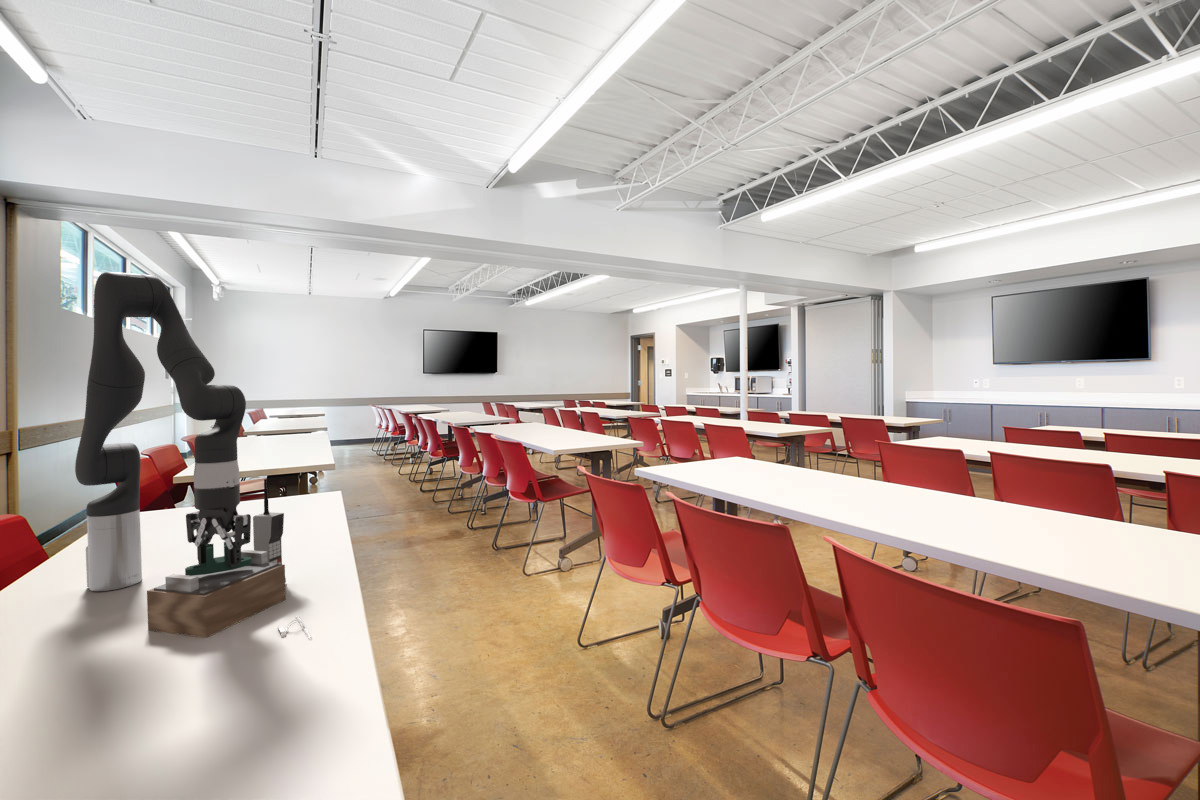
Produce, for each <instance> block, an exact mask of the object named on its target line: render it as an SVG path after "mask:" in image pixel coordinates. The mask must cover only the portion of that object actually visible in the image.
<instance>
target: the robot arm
mask: <svg viewBox="0 0 1200 800" xmlns="http://www.w3.org/2000/svg"><path fill="white" fill-rule="evenodd" d="M94 285H95V286H94V292H93V340H92V342H93V343H92V349H91V350H92V352H91V360H90V364H89V365H90V366H89V371H88V378H87V384H86V396H85V397H86V398H85V400H86V401H85V411H84V420H83V425H82V431H81V435H80V439H79V444H78V447H77V453H76V458H75V464H74V465H75V466H74V470H75V471H74V472H75V478H76V480H77V481H78V483H79V484H80V485H82V486H100V485H111V484H117V483H118V484H117V486H116V487H115V489H113V490H112V491H111V492H108V493H107V494H105V495H102V496H101V497H98V498H95V499H93V500H91V501H90V502H88V503H87V504H86V510H85V511H86V530H87V546H86V547H85V562H86V563H85V564H86V565H85V566H86V587H87V588H89V589H88V590H89V591H92V592H107V591H114V590H119V589H120V590H121V589H123V588H127V587H130V586H133V585H137V584H138V583H140V582H141V581H142V580H143V572H142V570H143V568H142V566H143V565H142V561H143V560H142V541H141V539H142V537H141V511H140V501H141V500H140V499H141V498H140V497H141V487H140V486H141V485H140V484H141V454H140V449H139V448H138V446H137V445H136V444H134V443H131V442H122V443H121V442H120V443H108V444H105V441H106V440H107V438H108V436H109V435H110V433H111V432H112V431H113V429H114V428H115V427H117V425H118V424H120V423H121V422H122V421H123V420H124V419H125V418H126V417H127V416H128V415H130V414H131V413H132V412H133V411H134V410H135V409H136V407H137V406H139V404H140V402H141V400H142V398H143V394H144V393H143V392H144V387H145V379H146V371H145V369H144V367H143V364H142V363H141V362H140V360H139V359H138V357H137V355H135V353H134V352H133V351H132V349H131V348H130V347H129V345H128V343H127V342H126V339H125V338H124V333H123V332H124V331H123V323H124V319H125V318H151V319H154V320H155V322H156V323H157V324H158V325H159V326H160V333H159V337H158V341H157V344H156V354H157V358H158V360H159V362H160V364H161V365H162V367H163V368H164V369H165V372H167V374H168V375H169V376H170V378H171V379H172V381H173V382H174V384H175V389H176V392H177V395H178V400H179V403H180V407H181V409H182V411H183V412H184V413H185V415H186V416H188V417H189V418H190V419H193V420H196V421H215V422H214V424H213V427H212V428H211V429H210V430H208V431H205V432H201V433H199V434H197V435H196V436H195V438H194V444H193V445H194V448H193V449H194V470H193V492H194V493H193V495H194V498H193V499H194V500H193V502H194V508H195V509H196V510H197V511H194V512H189V513H186V515H185V522H186V523H185V524H186V535H187V536H186V537H187V542H188V543H189V544H190V543H193V544H194V546H196V548H197V549H196V551H197V553H196V555H197V556H196V557H197V560H198V564H202V563H206V545H207V544H211V541H212V539H213V537H214V536H215V535H218V536H219V537H220V539H221V540H223V541H224V542H226V544H227V546H228V548H229V549H227V559H228V567H234V566H237V565H239V564H240V562H241V551H242V546H243V545H248V544H250V542H251V526H252V525H251V523H252V516H251V514H249V513H246V514H239V513H238V509H237V507H238V505H239V504H240V503H241V487H240V483H241V482H240V468H239V461H238V438H239V434H240V431H241V427H242V424H243V420H244V417H245V414H246V410H247V409H246V408H247V401H246V398H245V397H246V396H245V395H244V393H243V391H242V390H241V389H240V388H239V387H238V386H236V385H230V384H219V385H218V384H210V383H211V382H212V381H213V380H214V378H215V376H216V373H215V368H214V367H213V365H212V364H211V363H210V361H209V360H208V358H207V357H206V356H205V355H204V353H203V352H202V350H200V348H199V347H198V345H197V344H196V342H195V341H194V339H193V338H192V336H191V334H190V332H189V330H188V327H187V326H186V324H185V321H184V319H183V317H182V315H181V314H180V311H179V309H178V308H179V307H177V304H176V303H175V300H174V298H173V296H172V294H171V292H170V290H169V289H168V287H167V285H165V283H164V282H163V281H162V280H161V278H159V277H157V276H155V275H151V274H144V273H132V272H131V273H129V272H122V271H105V272H102V273H101V274H100V275H99V276H98V277H97V279H96V281H95V284H94ZM195 530H196V532H195ZM230 531H231V532H230ZM195 533H196V535H195ZM232 538H233V539H232Z"/></svg>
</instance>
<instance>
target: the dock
mask: <svg viewBox="0 0 1200 800" xmlns="http://www.w3.org/2000/svg"><path fill="white" fill-rule="evenodd" d="M241 557H251V563H252V564H251V565H248V566H245V567H241V568H237V569H234V570H228V571H223V572H217V573H211V574H204V575H193V576H189V575H185V574H175V573H173V574H169V575H167V576H165V583H164V584H162V585H158V586H155V587H154V588H151V589H148V590H146V603H147V604H146V605H147V607H146V608H147V609H146V610H147V631H150V632H159V633H167V634H175V635H182V636H183V635H184V636H192V637H199V638H209V637H211V636H213V635H216V634H217V633H219V632H221V631H223V630H225V629H228V628H230V627H231V626H234V625H236V624H238V623H240V622H242V621H244V620H246V619H248V618H250V617H252V616H254V615H257V614H259V613H261V612H263V611H265V610H266V609H268V608H271V607H272V606H274V605H277V604H279V603H281V602H283V601H285V600H287V598H286V583H285V578H286V567H285V566H286V565H285V564H283V563H282V564H279V563H269V562H268V561H267V551H254V549H253V550H252V549H251V550H250V549H243V550H241Z"/></svg>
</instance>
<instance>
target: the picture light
mask: <svg viewBox="0 0 1200 800" xmlns="http://www.w3.org/2000/svg"><path fill="white" fill-rule="evenodd" d="M295 623H298V624H299V626H300V628H301V629H302V631H303V632H304V635H305V636H306V638H307V640H309V641H312V640H313V637H312V636H311V634H310V633H309V630H308V629H307V627H306V626H305V624H304V623H303V620H302V619H301V618H300V615H295V619H294V620H292V621H290V623H288V624H287V627H286V628H284V626H283V625H279V626H278V627H277V631H279V632H280V635H281V638H284V637H287V635H286V634H287V633H289V629H290V627H291V626H292V625H293V624H295Z"/></svg>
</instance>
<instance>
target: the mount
mask: <svg viewBox="0 0 1200 800" xmlns="http://www.w3.org/2000/svg"><path fill="white" fill-rule="evenodd" d="M227 549H229V548H228V546H227V544H226V542H225V541H223V555H221V556H218V557H217V556H216V557H214V553H215V552H214V550H215V549H214V543H208V544H207V545H206V563H202V564H199V563H198V564H194V565H193V564H192V565H191V566H187V567H185V569H184V570H185V571H184V572H185V574H184V575H189V576H193V575H204V574H211V573H217V572H223V571H228V570H234V569H237V568H241V567H245V566H248V565H251V564H252V563H251V557H241V562H240V564H239V565H237V566H234V567H228V559H227Z"/></svg>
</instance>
